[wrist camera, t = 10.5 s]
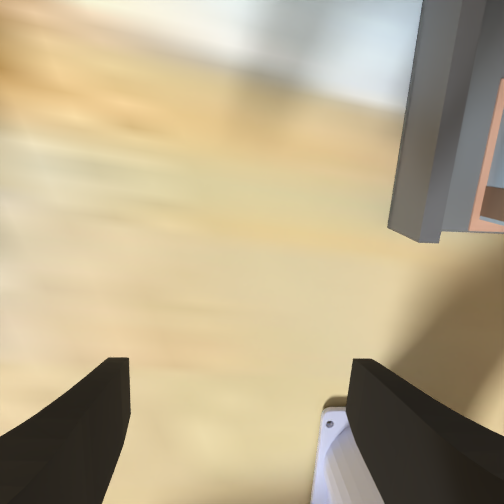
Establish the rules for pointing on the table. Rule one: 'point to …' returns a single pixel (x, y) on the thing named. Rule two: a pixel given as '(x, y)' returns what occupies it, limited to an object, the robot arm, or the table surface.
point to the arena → (450, 120)
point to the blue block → (495, 183)
